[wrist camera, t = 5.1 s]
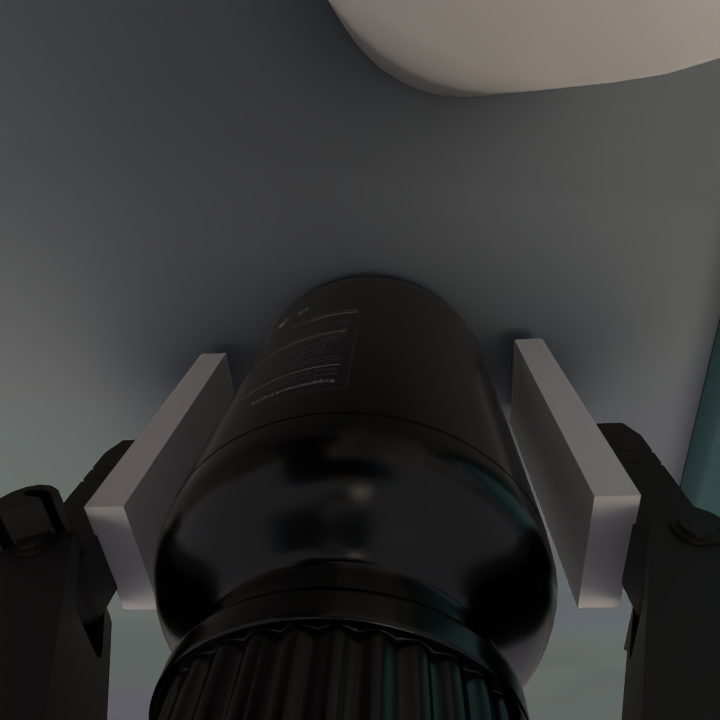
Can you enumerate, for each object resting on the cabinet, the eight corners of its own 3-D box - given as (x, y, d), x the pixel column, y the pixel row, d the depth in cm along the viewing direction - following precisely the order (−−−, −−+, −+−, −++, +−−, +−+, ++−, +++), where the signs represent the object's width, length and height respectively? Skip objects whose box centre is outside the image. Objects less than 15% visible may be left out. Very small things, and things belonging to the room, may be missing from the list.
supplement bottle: (527, 388, 16) (791, 949, 5) (361, 496, 18) (317, 1045, 8) (383, 216, 14) (353, 573, 3) (216, 361, 16) (-119, 852, 6)
